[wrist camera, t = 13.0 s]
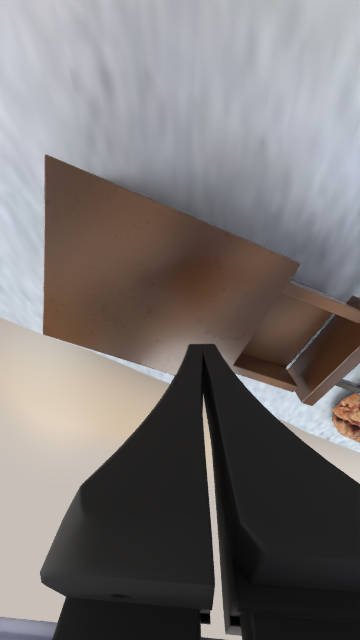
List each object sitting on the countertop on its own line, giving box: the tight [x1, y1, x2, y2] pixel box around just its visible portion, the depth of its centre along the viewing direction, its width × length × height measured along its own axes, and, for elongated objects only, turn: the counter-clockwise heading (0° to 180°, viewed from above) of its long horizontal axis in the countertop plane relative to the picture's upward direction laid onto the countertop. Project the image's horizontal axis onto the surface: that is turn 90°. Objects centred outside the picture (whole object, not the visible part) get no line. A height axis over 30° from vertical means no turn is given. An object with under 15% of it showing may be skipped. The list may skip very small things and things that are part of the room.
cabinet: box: [43, 155, 301, 375], centre depth 15 cm, size 15×11×6 cm
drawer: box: [231, 280, 360, 406], centre depth 16 cm, size 18×10×4 cm, turn 70°
